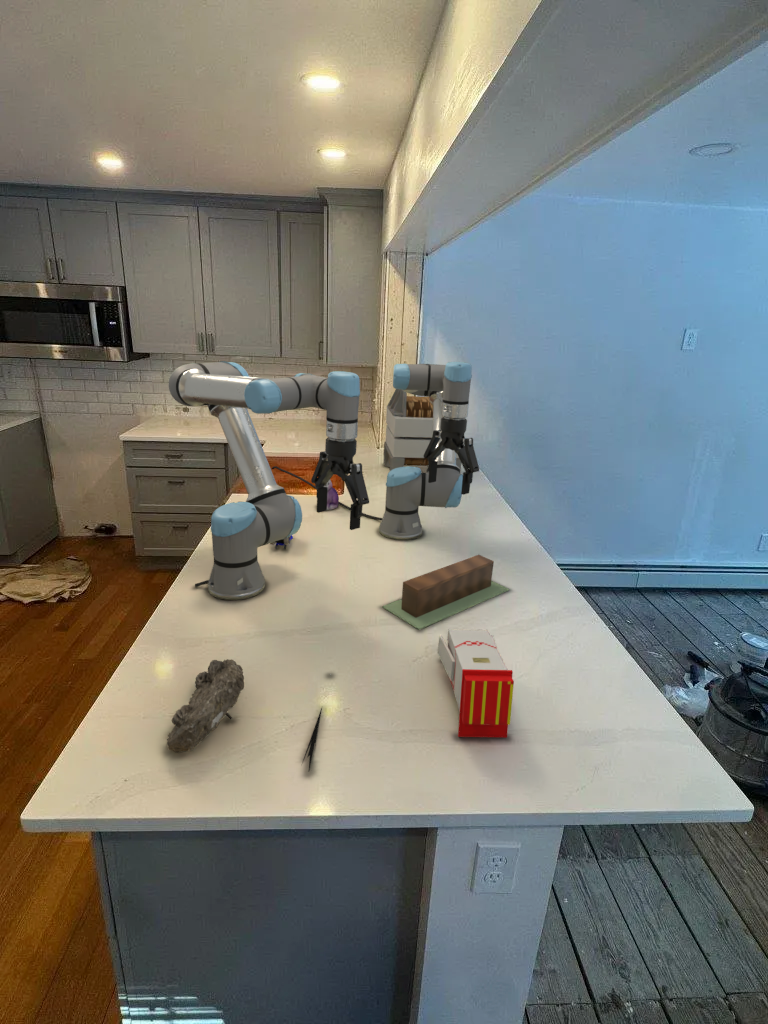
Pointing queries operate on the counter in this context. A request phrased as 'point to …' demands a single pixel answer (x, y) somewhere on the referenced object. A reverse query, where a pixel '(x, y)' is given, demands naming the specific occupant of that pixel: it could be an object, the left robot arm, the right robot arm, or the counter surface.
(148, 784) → the counter surface
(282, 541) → the figurine character
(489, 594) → the mat
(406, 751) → the counter surface
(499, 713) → the toy
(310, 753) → the feather
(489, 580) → the walnut box
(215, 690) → the fossil
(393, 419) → the grey slatted box
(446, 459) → the right robot arm
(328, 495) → the figurine
